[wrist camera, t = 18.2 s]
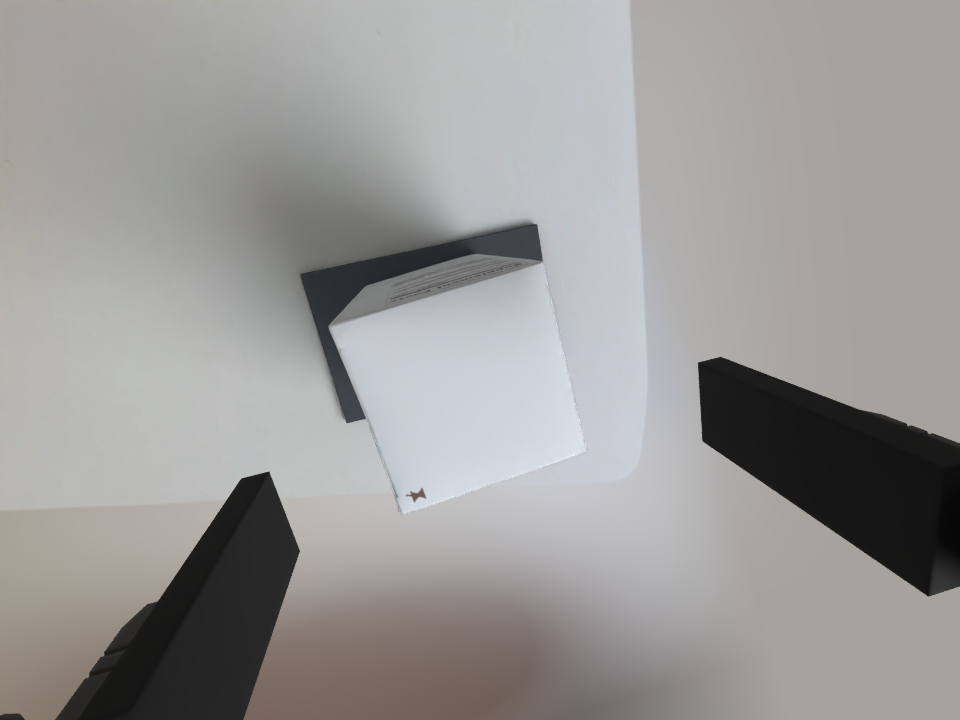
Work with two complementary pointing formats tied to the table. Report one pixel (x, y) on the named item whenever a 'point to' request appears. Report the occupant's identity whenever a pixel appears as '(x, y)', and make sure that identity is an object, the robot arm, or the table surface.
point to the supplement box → (460, 376)
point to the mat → (345, 282)
